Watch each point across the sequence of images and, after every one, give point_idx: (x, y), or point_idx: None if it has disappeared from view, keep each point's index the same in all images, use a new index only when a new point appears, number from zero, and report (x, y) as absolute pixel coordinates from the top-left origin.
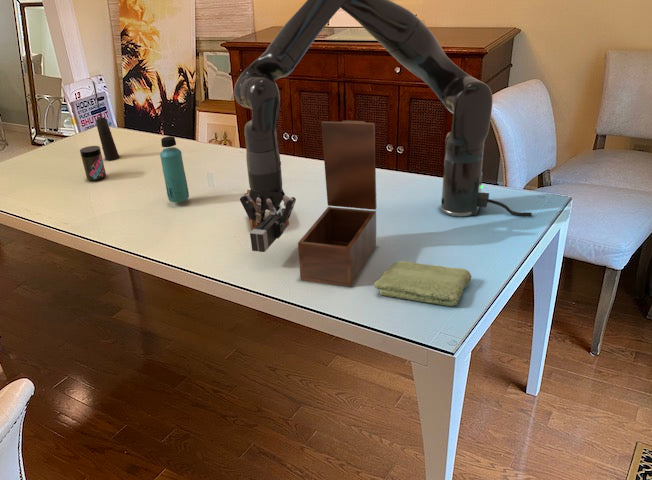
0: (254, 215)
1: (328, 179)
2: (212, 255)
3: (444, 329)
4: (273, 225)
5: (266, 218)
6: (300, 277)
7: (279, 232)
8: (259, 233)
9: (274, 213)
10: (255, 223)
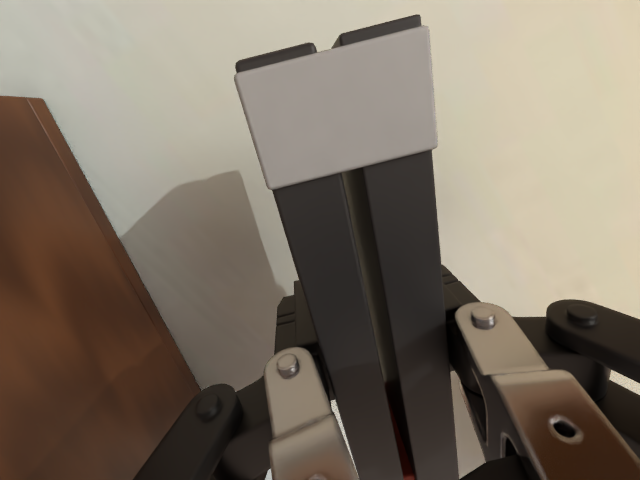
0: (562, 353)
1: None
2: (619, 96)
3: None
4: (316, 330)
5: (438, 384)
6: (30, 98)
7: (285, 313)
8: (287, 62)
9: (285, 462)
10: None
